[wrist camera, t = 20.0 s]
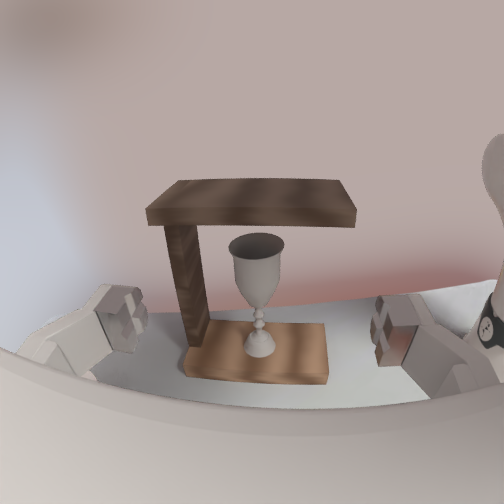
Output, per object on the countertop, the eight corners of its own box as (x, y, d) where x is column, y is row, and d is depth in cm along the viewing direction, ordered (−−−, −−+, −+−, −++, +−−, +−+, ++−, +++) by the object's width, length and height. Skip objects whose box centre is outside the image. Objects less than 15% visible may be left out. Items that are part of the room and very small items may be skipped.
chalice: (254, 325, 50) (250, 228, 42) (289, 339, 47) (294, 239, 38) (228, 351, 45) (216, 250, 37) (265, 369, 42) (264, 265, 33)
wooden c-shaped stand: (322, 335, 51) (339, 180, 38) (326, 384, 42) (356, 209, 28) (201, 330, 54) (178, 180, 40) (186, 376, 44) (145, 208, 31)
